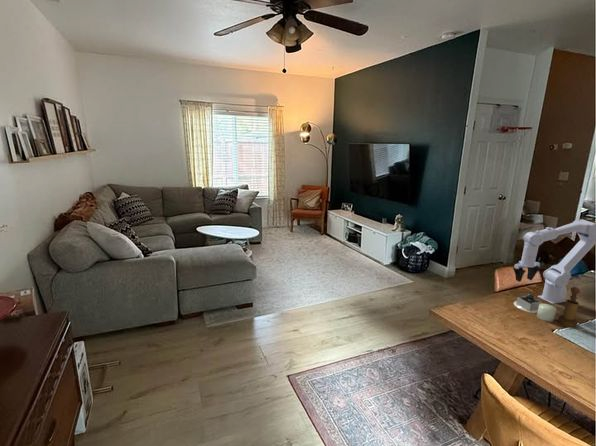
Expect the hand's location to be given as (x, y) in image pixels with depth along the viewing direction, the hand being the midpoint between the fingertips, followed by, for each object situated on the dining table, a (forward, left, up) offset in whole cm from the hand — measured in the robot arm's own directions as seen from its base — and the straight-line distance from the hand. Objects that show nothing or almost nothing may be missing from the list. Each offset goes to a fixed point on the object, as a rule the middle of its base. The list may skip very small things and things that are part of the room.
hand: (523, 280), depth 160 cm
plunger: (+5, +8, -10) cm, 14 cm away
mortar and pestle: (+2, +24, -11) cm, 26 cm away
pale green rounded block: (+7, +18, -11) cm, 22 cm away
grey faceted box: (+5, +7, -10) cm, 13 cm away
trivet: (+5, +8, -10) cm, 14 cm away
